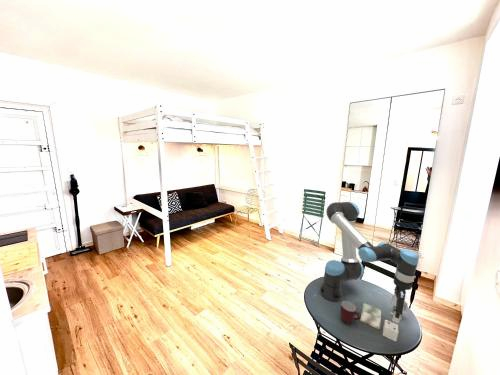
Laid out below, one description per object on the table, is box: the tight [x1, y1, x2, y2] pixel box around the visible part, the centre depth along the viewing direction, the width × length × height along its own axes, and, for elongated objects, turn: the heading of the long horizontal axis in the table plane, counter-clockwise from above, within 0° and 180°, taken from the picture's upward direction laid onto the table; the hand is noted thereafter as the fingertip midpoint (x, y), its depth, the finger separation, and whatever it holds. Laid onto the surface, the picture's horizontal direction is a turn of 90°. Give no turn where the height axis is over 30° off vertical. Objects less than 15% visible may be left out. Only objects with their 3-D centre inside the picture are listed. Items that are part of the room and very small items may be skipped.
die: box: [382, 319, 399, 342], centre depth 111 cm, size 6×6×6 cm
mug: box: [340, 300, 361, 324], centre depth 118 cm, size 11×8×10 cm
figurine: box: [389, 295, 408, 321], centre depth 124 cm, size 8×8×15 cm
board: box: [359, 302, 382, 331], centre depth 124 cm, size 10×16×1 cm, turn 146°
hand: (395, 313), depth 109 cm, fingers open, 13 cm apart
